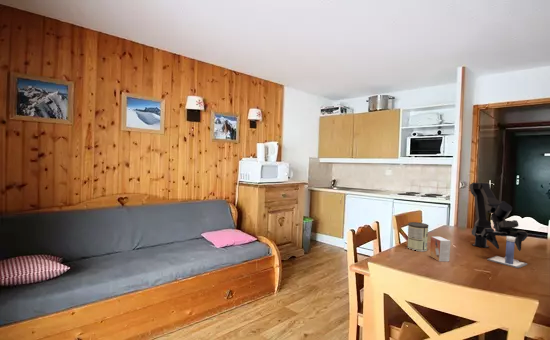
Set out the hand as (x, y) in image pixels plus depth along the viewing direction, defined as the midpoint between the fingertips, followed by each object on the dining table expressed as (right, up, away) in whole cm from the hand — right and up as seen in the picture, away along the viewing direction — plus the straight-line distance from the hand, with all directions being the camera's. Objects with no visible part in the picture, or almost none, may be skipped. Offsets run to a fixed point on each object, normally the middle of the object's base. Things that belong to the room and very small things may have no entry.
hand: (509, 249), depth 147 cm
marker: (0, -7, 0) cm, 7 cm away
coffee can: (-35, -5, +21) cm, 42 cm away
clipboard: (+1, -7, +3) cm, 8 cm away
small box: (-32, -6, +5) cm, 33 cm away
